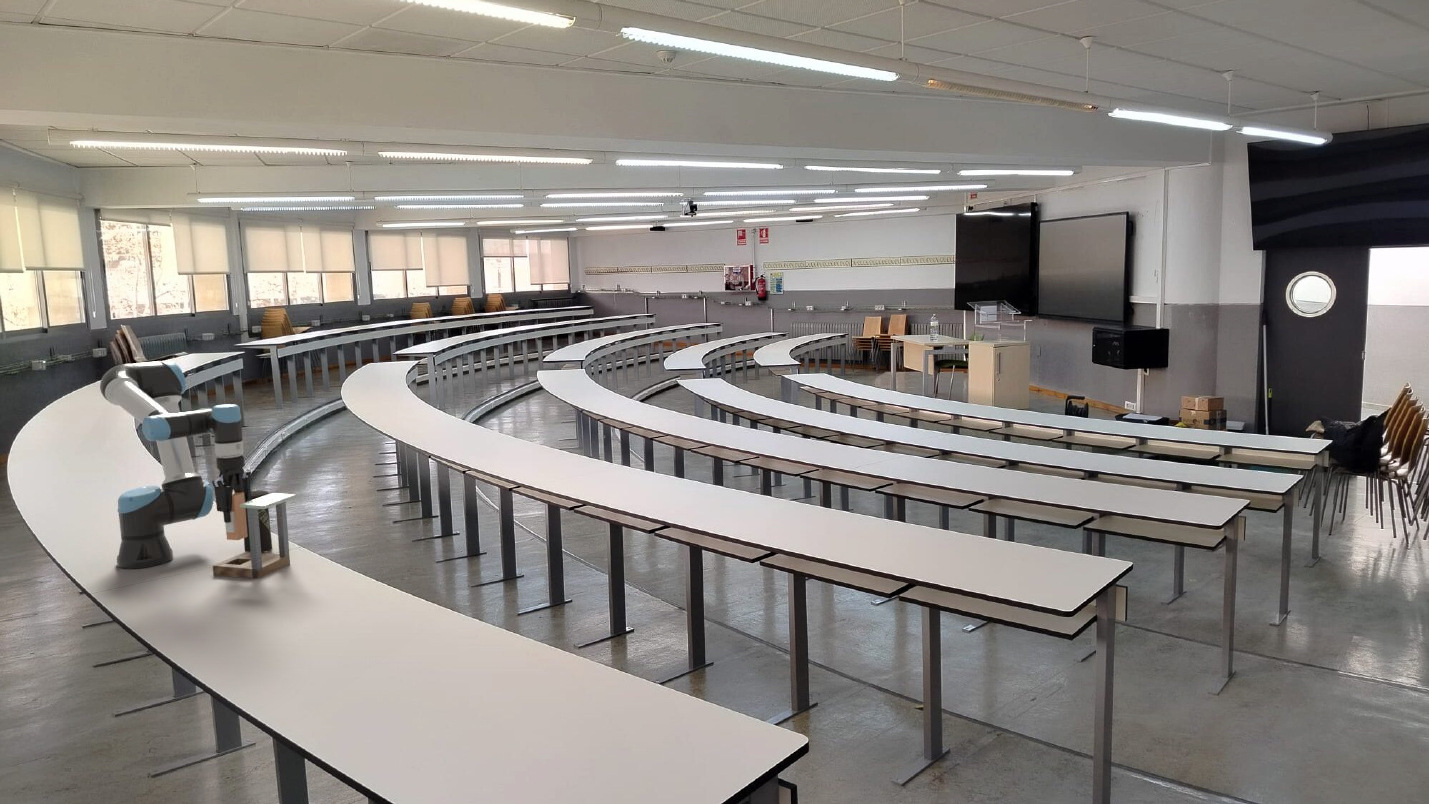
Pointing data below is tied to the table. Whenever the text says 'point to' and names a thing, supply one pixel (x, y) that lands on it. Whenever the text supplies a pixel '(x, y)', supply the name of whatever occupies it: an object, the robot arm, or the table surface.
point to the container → (260, 525)
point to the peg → (238, 517)
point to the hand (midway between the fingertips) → (236, 529)
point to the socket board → (250, 565)
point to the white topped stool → (253, 524)
